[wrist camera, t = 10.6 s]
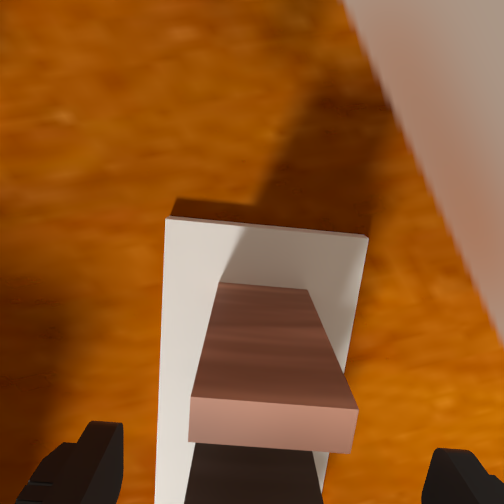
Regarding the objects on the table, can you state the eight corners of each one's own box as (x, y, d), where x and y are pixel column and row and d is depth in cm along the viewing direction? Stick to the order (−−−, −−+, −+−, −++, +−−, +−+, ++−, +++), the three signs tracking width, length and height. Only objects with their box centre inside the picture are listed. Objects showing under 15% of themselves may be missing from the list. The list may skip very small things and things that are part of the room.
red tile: (218, 281, 20) (190, 396, 11) (307, 289, 20) (359, 409, 11) (216, 308, 21) (187, 442, 11) (303, 315, 21) (350, 453, 11)
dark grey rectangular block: (211, 359, 22) (179, 526, 12) (294, 367, 22) (330, 536, 12) (209, 383, 22) (177, 562, 12) (291, 390, 22) (323, 572, 12)
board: (169, 215, 20) (165, 218, 19) (363, 234, 21) (368, 238, 20) (154, 581, 28) (151, 597, 27) (298, 591, 28) (300, 606, 27)
